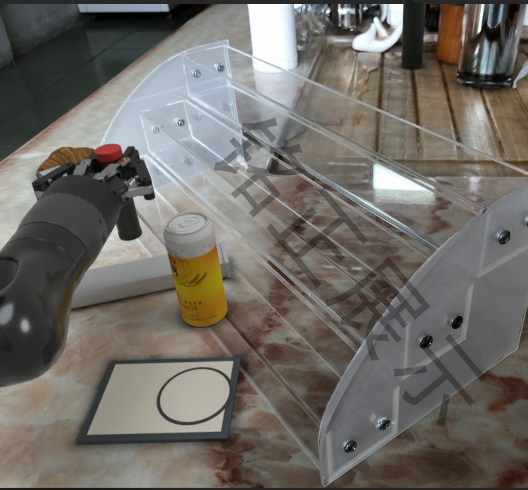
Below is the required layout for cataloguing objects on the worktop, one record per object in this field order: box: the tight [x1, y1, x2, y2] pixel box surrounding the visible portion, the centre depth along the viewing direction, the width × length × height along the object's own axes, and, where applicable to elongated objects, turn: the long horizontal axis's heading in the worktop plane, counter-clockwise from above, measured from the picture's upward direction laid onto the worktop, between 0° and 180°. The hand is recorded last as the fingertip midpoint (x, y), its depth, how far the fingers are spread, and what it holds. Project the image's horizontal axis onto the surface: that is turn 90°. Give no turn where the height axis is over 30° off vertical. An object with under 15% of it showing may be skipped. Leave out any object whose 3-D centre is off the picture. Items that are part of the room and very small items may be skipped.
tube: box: [71, 240, 232, 310], centre depth 85 cm, size 5×5×25 cm
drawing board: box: [77, 356, 242, 445], centre depth 68 cm, size 16×12×1 cm
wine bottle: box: [400, 0, 426, 71], centre depth 157 cm, size 6×6×30 cm
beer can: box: [162, 210, 228, 328], centre depth 77 cm, size 6×6×15 cm
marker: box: [94, 143, 143, 242], centre depth 73 cm, size 3×3×12 cm
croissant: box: [35, 146, 95, 179], centre depth 119 cm, size 14×7×5 cm, turn 146°
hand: (118, 154), depth 73 cm, fingers closed on marker, 3 cm apart
